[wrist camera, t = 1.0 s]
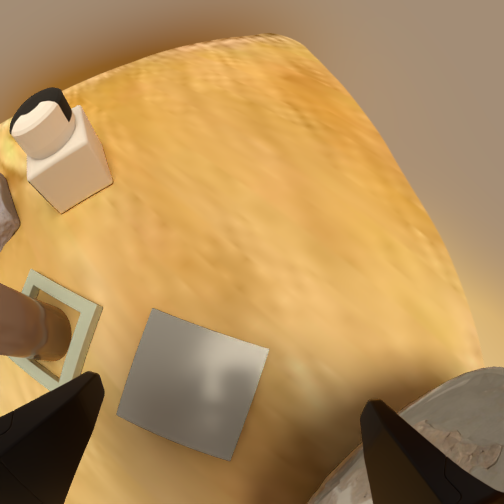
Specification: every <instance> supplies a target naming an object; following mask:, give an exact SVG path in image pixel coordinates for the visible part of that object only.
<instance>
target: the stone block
mask: <svg viewBox="0 0 504 504" xmlns="http://www.w3.org/2000/svg"><path fill="white" fill-rule="evenodd" d="M19 227H20V220H19V217H18V215H17V212H16V209H15V206H14V203H13V200H12V197H11V194H10V191H9V188H8V184H7V181H6V179H5V177H4V176H3V175H2V174H1V173H0V251H1V250H2V248H3V246H4V245H5V244H6V243H7V242H8V241H9V240H10V239H11V237H12V235H13V234H14V232H15V231H16V230H17V229H18V228H19Z"/></svg>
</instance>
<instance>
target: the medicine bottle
mask: <svg viewBox="0 0 504 504" xmlns="http://www.w3.org/2000/svg"><path fill="white" fill-rule="evenodd" d="M10 134H11V135H12V136H13V138H14V139H15V140H16V142H17V143H18V144H19V145H20V147H21V148H22V149H23V150H24V152H25V153H26V154H27V180H28V182H29V183H30V184H31V185H32V186H33V187H34V188H35V189H36V190H37V191H38V192H39V193H40V194H41V195H42V196H43V197H44V198H45V199H46V200H47V201H48V202H49V203H50V204H51V205H52V206H53V207H54V208H55V209H56V210H57V211H58V212H59V213H63V212H65V211H67V210H68V209H70V208H71V207H73V206H75V205H76V204H78V203H79V202H81V201H83V200H84V199H86V198H88V197H89V196H91V195H93V194H95V193H96V192H98V191H100V190H102V189H103V188H105V187H107V186H109V185H110V184H112V182H113V180H112V177H111V174H110V171H109V167H108V164H107V161H106V157H105V154H104V151H103V147H102V144H101V142H100V140H99V138H98V137H97V135H96V133H95V131H94V129H93V127H92V126H91V124H90V122H89V120H88V118H87V116H86V114H85V112H84V111H83V109H82V107H81V106H80V105H78V106H76V107H74V108H72V109H71V108H70V106H69V104H68V102H67V100H66V99H65V97H64V95H63V93H62V91H61V90H60V89H58V88H47V89H44V90H42V91H40V92H38V93H36V94H34V95H33V96H31V97H30V98H29V99H27V100H26V101H25V102H24V103H23V104H22V105H21V106H20V108H19V109H18V110H17V112H16V113H15V115H14V117H13V118H12V121H11V123H10Z"/></svg>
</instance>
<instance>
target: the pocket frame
mask: <svg viewBox="0 0 504 504" xmlns="http://www.w3.org/2000/svg"><path fill="white" fill-rule="evenodd" d="M39 289H41V290H43V291H44V292H46V293H47V294H49V295H51V296H52V297H54V298H56V299H58V300H59V301H61V302H63V303H64V304H66V305H68V306H70V307H72V308H73V309H75V310H77V311H79V312H81V314H80V317H79V320H78V322H77V325H76V328H75V331H74V334H73V337H72V340H71V343H70V346H69V349H68V352H67V356H66V359H65V362H64V366H63V369H62V373H61V376H60V378H58V377H57V376H55V375H54V374H53V373H51V372H50V371H48V370H47V369H46V368H44V367H43V366H42V365H40V364H39V363H38V362H36V361H35V360H34V359H27V358H19V357H12V356H8V357H9V358H10V359H11V360H12V361H13V362H15V363H16V364H17V365H18V366H19V367H20V368H22V369H23V370H24V371H25V372H26V373H28V374H29V375H30V376H31V377H33V378H34V379H35V380H36V381H38V382H39V383H40V384H42V385H43V386H44V387H45V388H47V389H48V390H50V391H52V390H54V389H56V388H57V387H59V386H61V385H63V384H65V383H67V382H69V381H70V380H72V379H74V378H76V377H78V376H80V374H81V371H82V367H83V364H84V361H85V358H86V355H87V352H88V349H89V346H90V343H91V340H92V337H93V334H94V331H95V328H96V325H97V323H98V320H99V317H100V315H101V312H102V309H103V307H101V306H99V305H97V304H95V303H93V302H91V301H89V300H87V299H85V298H83V297H81V296H79V295H77V294H76V293H74V292H72V291H70V290H68V289H66V288H64V287H62V286H61V285H59V284H57V283H55V282H53V281H52V280H50V279H48V278H46V277H45V276H43V275H41V274H39V273H38V272H36V271H34V270H32V269H31V270H30V272H29V274H28V277H27V280H26V282H25V285H24V287H23V290H22V293H23V294H25V295H28V296H30V297H32V298H35V299H36V297H37V295H38V292H39Z"/></svg>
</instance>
